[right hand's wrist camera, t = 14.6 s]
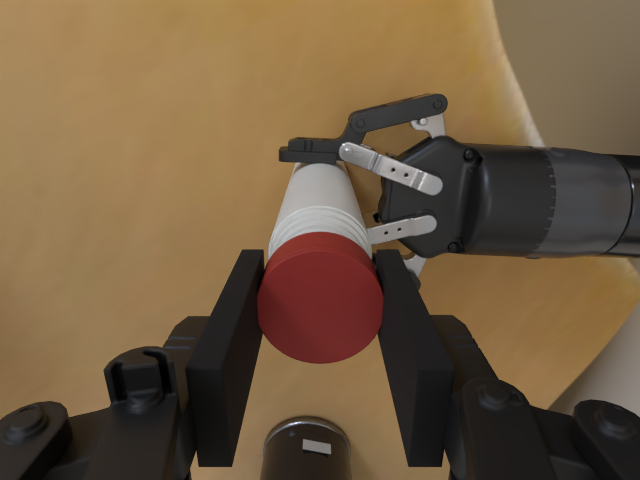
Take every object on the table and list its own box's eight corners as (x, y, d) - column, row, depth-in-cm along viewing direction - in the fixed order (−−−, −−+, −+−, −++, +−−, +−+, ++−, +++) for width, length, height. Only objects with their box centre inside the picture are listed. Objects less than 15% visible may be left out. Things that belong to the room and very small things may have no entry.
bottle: (338, 140, 33) (369, 224, 12) (352, 191, 34) (399, 342, 14) (286, 155, 33) (234, 261, 13) (302, 205, 35) (277, 371, 14)
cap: (248, 246, 14) (238, 267, 12) (364, 218, 14) (370, 236, 12) (281, 344, 16) (276, 374, 14) (387, 320, 15) (395, 349, 14)
